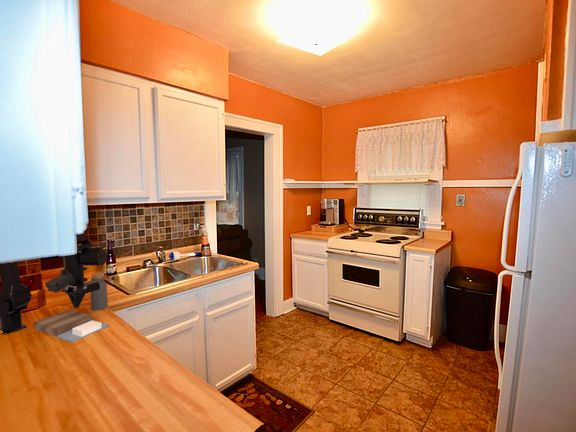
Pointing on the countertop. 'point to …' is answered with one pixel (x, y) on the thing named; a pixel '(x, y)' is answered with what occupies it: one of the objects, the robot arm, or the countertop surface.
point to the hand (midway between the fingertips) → (76, 307)
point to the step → (61, 322)
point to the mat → (72, 338)
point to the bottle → (99, 292)
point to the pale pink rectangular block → (86, 328)
